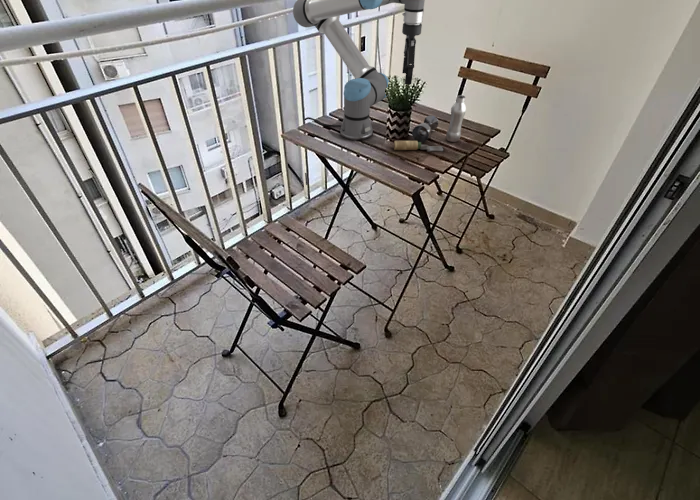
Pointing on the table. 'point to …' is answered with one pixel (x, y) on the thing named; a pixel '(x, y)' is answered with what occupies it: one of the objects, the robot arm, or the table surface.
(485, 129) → the table surface
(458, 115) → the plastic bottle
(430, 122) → the wine glass
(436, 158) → the table surface
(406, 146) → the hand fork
